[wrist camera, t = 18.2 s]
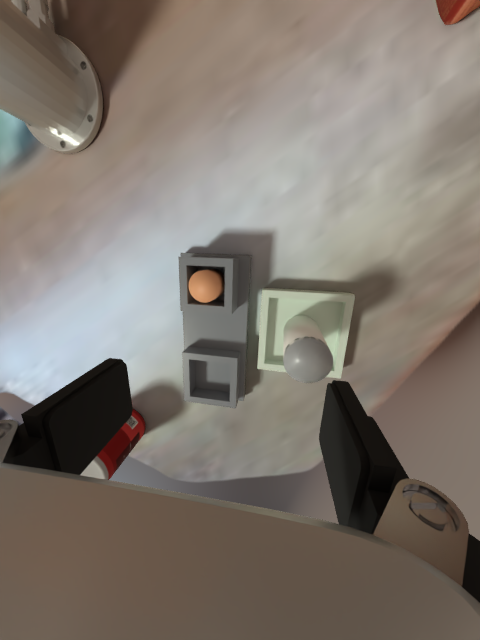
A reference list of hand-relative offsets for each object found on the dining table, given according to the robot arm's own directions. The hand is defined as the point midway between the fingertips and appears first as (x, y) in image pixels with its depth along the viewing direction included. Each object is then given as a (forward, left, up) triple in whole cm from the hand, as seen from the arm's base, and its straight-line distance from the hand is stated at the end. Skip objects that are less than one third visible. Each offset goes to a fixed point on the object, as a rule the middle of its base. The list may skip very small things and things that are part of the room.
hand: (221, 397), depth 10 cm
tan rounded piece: (-2, -7, -22) cm, 23 cm away
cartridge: (+4, +6, -24) cm, 25 cm away
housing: (+5, -7, -24) cm, 26 cm away
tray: (+4, +6, -24) cm, 25 cm away
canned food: (+26, -25, -25) cm, 44 cm away
